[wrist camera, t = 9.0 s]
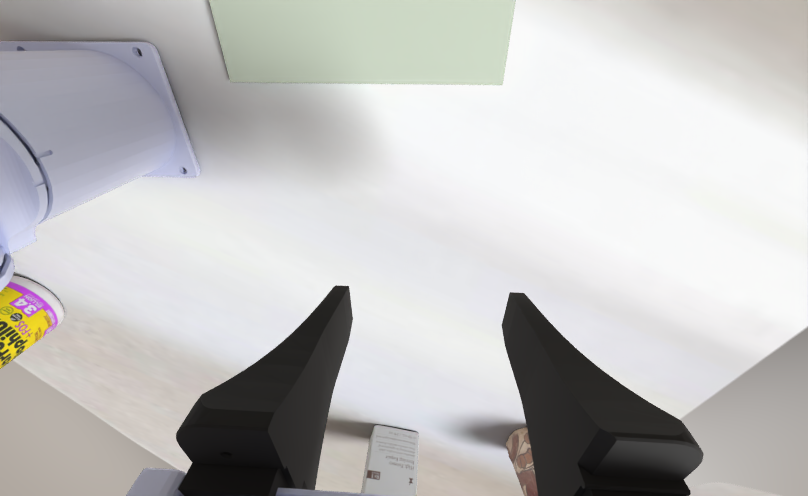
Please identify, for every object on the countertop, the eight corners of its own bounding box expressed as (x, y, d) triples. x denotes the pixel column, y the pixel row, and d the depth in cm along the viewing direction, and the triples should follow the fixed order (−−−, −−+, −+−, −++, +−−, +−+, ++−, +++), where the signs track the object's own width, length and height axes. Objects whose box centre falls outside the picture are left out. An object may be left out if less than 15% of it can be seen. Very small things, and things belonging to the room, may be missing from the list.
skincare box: (419, 431, 40) (418, 562, 30) (412, 447, 43) (408, 574, 32) (372, 423, 40) (354, 553, 30) (367, 440, 42) (348, 566, 32)
